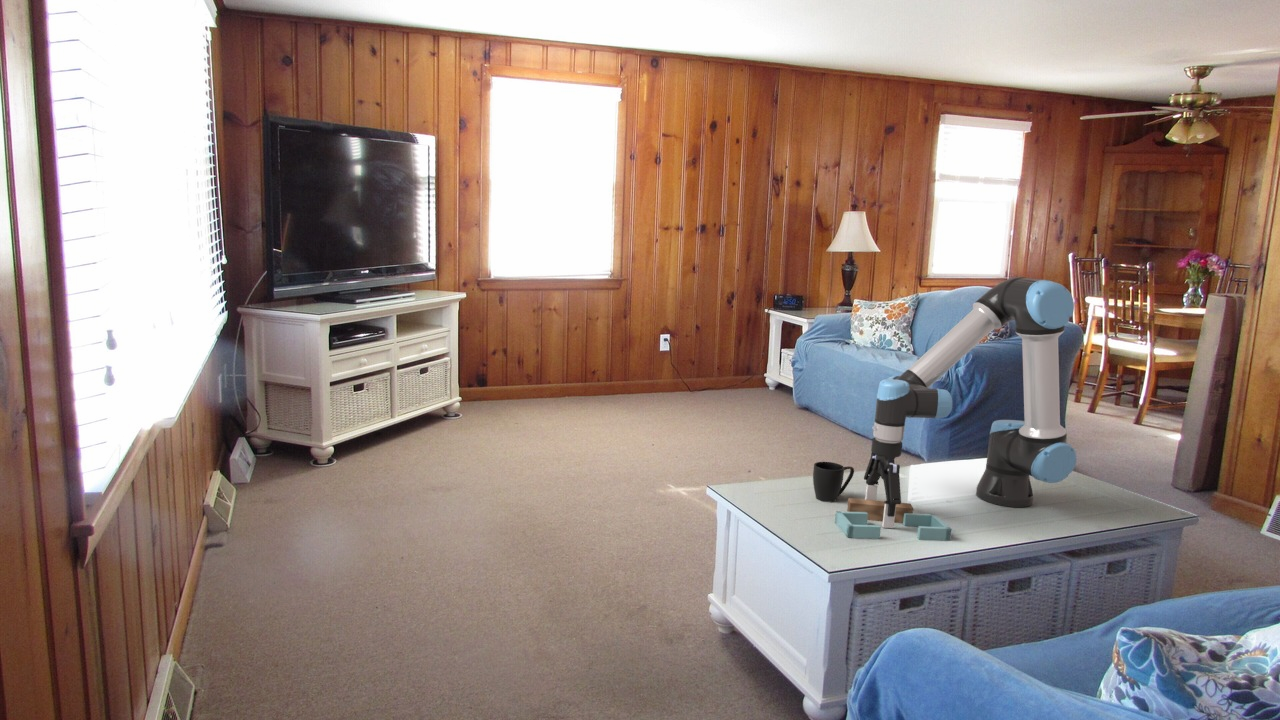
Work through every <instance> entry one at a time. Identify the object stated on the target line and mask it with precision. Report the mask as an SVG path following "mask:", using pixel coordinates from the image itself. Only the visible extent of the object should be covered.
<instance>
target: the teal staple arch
mask: <svg viewBox="0 0 1280 720" xmlns="http://www.w3.org/2000/svg"><path fill="white" fill-rule="evenodd" d="M902 525H903V526H904V527H918V528H917V535H916V536H917V537H916V539H918V540H920V541H921V540H923V541H925V540H926V541H951V539H952V529H953V528H951V527H950V526H949V525H948V524H946V522H944V521H943V520H942V519H941V518H939V516H937V515H936V514H935V513H915V512H913V513H904V519H903V523H902Z"/></svg>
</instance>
